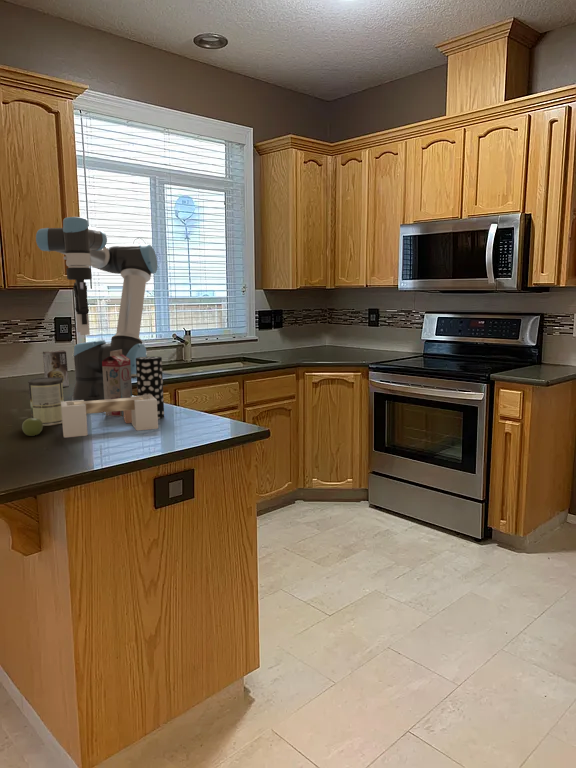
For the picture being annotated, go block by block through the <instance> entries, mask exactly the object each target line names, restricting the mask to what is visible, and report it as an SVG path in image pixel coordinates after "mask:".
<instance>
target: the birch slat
mask: <svg viewBox="0 0 576 768" xmlns="http://www.w3.org/2000/svg"><path fill="white" fill-rule="evenodd" d="M134 400H144V399H143V398H142V397H133V398H120V399H107V400H94V401H80V402H73V403H74V405H83V404H85V405H86V415H87V414H99V413H105V412H112V411H124V410H135V405H134Z"/></svg>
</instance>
